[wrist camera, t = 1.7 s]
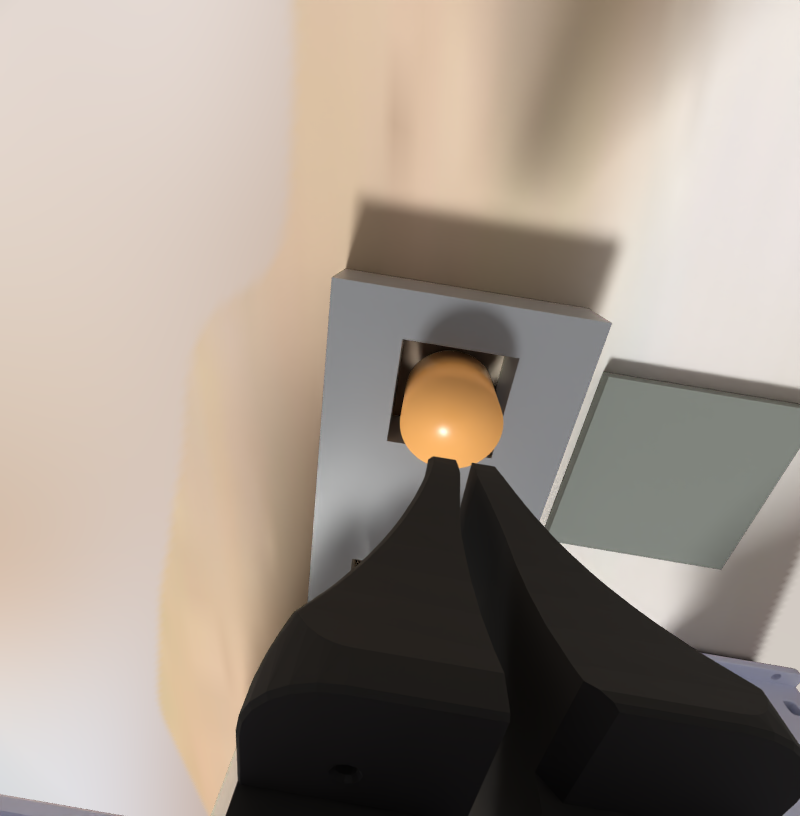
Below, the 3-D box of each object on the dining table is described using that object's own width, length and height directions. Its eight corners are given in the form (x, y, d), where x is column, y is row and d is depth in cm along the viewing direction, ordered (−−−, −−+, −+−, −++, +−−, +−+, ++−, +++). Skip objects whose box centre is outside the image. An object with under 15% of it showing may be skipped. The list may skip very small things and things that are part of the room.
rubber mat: (811, 406, 18) (823, 412, 18) (714, 560, 22) (721, 569, 21) (603, 371, 18) (608, 376, 18) (542, 532, 22) (545, 540, 21)
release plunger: (502, 358, 17) (515, 386, 14) (481, 436, 18) (489, 476, 16) (412, 343, 17) (408, 369, 14) (399, 423, 18) (393, 460, 16)
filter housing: (588, 308, 17) (612, 323, 15) (470, 656, 27) (474, 698, 24) (345, 268, 17) (331, 277, 15) (314, 629, 27) (302, 668, 24)
